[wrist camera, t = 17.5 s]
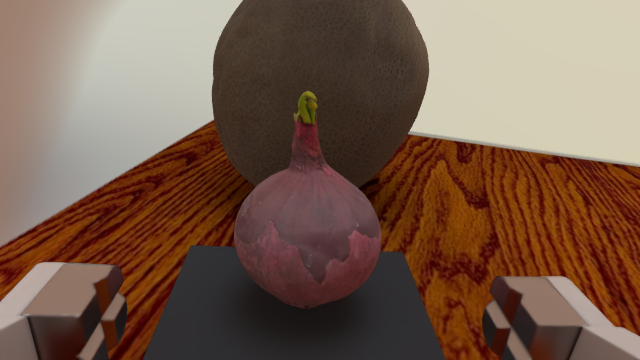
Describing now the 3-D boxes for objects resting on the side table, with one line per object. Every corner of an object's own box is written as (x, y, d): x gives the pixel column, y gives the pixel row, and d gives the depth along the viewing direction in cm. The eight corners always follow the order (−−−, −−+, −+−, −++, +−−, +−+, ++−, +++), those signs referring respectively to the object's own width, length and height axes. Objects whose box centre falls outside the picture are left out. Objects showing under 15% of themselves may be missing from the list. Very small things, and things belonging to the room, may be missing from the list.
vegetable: (234, 268, 22) (231, 72, 18) (350, 262, 23) (371, 76, 19) (236, 362, 16) (231, 109, 12) (387, 347, 18) (428, 112, 14)
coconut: (375, 266, 23) (419, -36, 17) (172, 206, 28) (151, -48, 22) (422, 178, 35) (457, -18, 29) (274, 146, 40) (278, -28, 34)
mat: (134, 389, 15) (132, 381, 15) (191, 251, 24) (190, 245, 23) (454, 392, 16) (456, 384, 16) (401, 257, 24) (402, 251, 24)
